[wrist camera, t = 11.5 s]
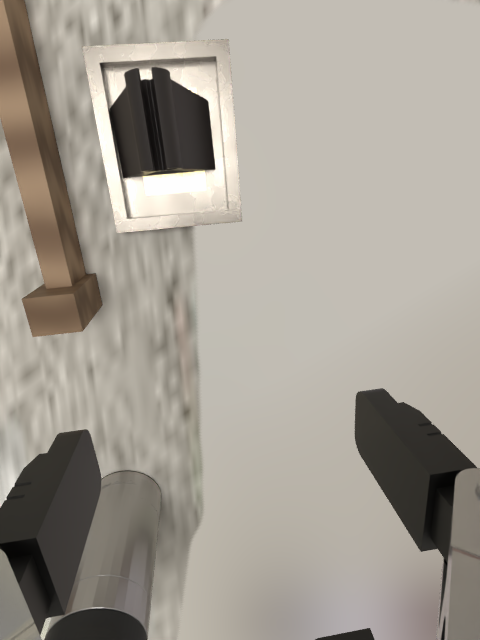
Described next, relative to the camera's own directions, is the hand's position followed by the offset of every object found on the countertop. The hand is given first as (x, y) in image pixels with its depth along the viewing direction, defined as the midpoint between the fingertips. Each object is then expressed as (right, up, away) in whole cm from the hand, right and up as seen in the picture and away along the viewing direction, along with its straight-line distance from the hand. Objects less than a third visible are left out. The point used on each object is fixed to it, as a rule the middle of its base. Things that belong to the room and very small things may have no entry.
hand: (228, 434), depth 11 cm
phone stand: (-7, +21, +25) cm, 33 cm away
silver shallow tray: (-6, +21, +26) cm, 34 cm away
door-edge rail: (-18, +18, +26) cm, 36 cm away
